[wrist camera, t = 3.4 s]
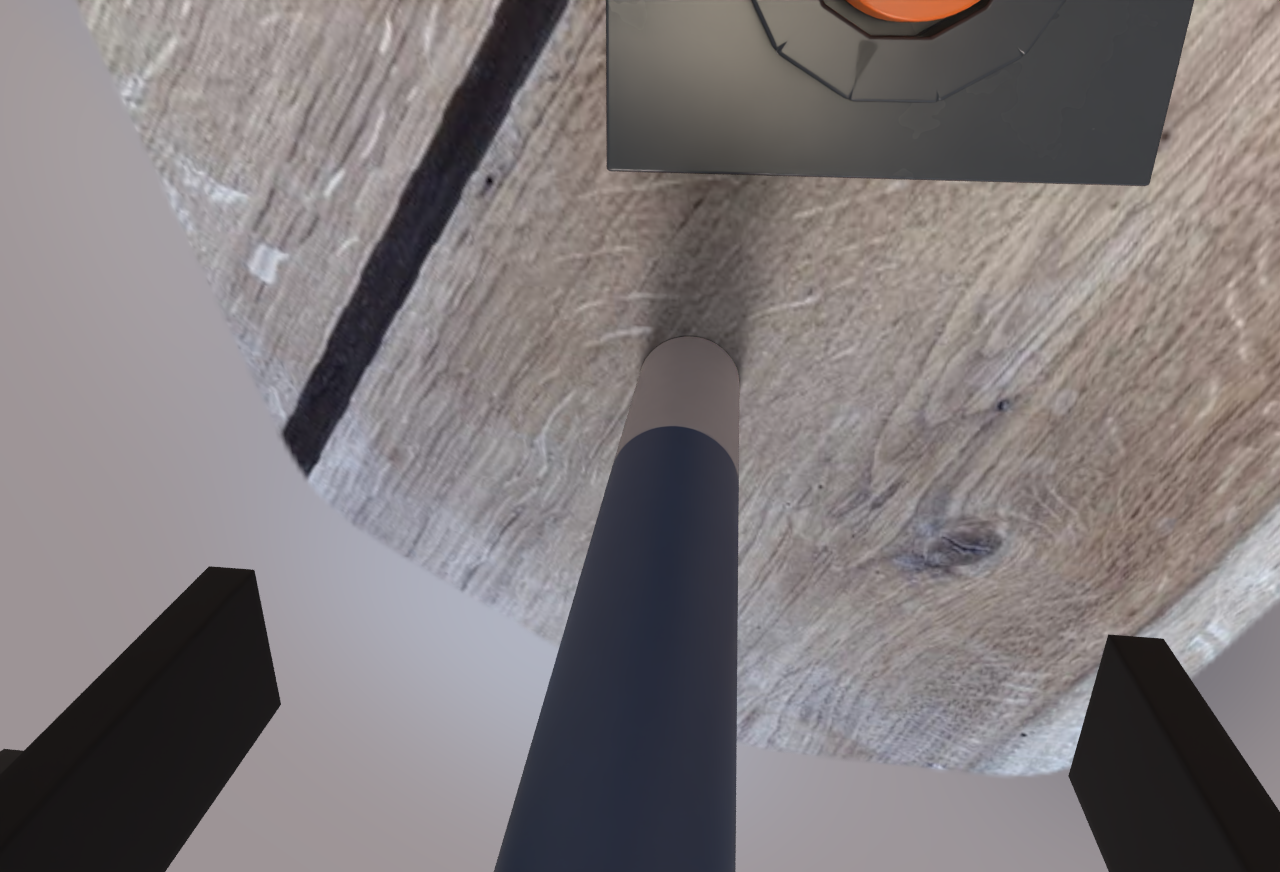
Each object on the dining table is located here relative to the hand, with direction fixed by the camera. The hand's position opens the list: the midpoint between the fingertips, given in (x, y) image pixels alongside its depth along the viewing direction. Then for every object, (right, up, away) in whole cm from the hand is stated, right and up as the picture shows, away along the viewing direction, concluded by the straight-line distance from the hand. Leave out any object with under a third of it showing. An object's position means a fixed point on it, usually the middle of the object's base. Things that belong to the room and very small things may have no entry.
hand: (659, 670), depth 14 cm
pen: (+1, +5, +11) cm, 12 cm away
